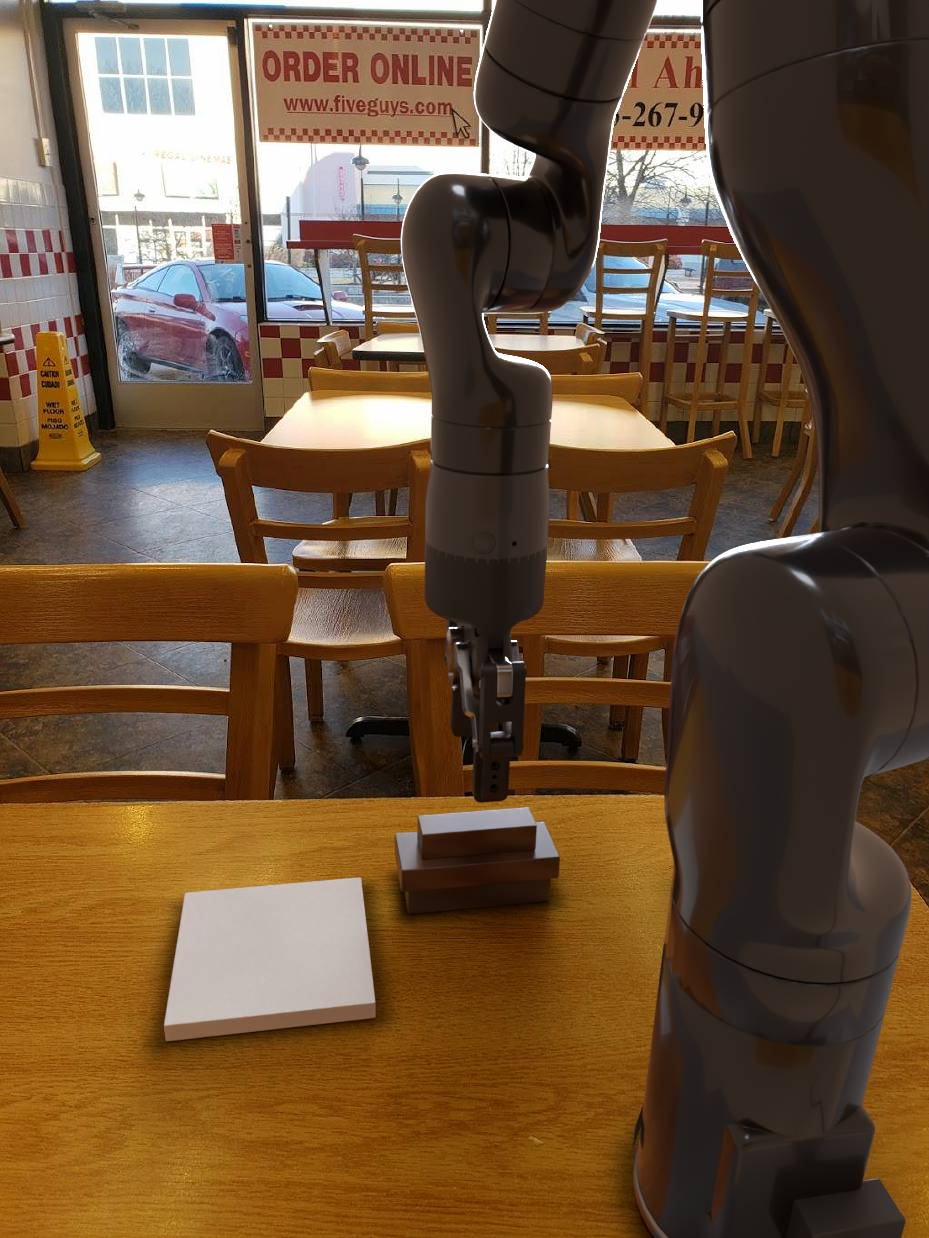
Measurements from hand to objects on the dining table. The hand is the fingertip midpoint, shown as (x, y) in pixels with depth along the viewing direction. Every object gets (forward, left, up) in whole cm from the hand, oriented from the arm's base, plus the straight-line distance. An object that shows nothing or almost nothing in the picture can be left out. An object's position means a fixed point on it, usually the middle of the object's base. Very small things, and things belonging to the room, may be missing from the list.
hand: (477, 764), depth 64 cm
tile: (-5, +14, -10) cm, 18 cm away
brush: (0, 0, -10) cm, 10 cm away
